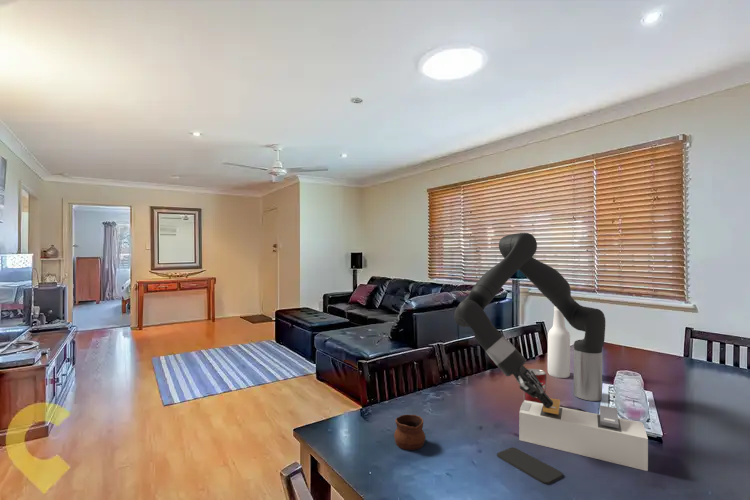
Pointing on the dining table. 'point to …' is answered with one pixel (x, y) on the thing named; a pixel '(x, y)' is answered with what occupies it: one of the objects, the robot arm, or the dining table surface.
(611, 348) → the dining table surface
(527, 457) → the phone
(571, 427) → the switch console
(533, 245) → the robot arm
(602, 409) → the grey rocker
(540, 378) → the soda can
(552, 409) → the amber rocker
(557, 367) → the alcohol
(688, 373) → the dining table surface
